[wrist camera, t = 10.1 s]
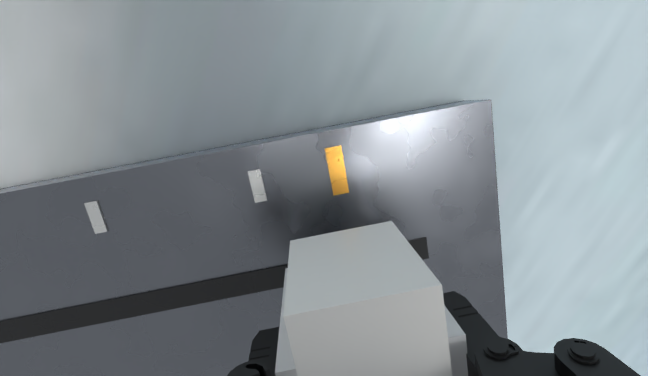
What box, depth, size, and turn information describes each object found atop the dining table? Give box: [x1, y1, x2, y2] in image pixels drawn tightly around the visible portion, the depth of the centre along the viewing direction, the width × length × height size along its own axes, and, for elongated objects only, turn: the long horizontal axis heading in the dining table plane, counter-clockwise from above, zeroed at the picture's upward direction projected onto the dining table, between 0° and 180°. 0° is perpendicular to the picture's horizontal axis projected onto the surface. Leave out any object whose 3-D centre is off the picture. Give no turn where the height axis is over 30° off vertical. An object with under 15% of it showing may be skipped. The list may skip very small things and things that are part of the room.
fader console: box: [0, 100, 508, 376], centre depth 20 cm, size 14×32×3 cm, turn 101°
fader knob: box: [283, 221, 452, 376], centre depth 14 cm, size 7×4×9 cm, turn 11°
